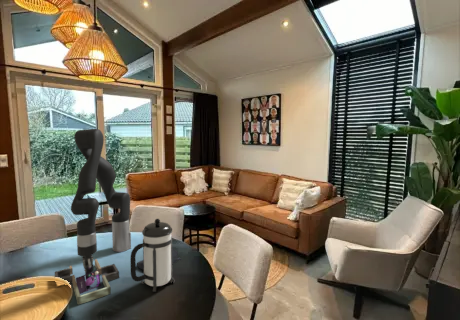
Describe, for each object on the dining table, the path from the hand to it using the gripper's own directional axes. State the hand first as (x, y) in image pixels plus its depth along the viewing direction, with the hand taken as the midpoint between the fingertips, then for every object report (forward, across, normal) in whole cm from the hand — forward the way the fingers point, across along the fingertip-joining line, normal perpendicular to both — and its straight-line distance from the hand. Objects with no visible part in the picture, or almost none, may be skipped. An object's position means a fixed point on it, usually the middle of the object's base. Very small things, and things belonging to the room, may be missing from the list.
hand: (88, 279), depth 116 cm
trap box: (+2, 0, 0) cm, 2 cm away
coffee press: (+2, -19, -24) cm, 31 cm away
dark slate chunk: (+2, 0, -33) cm, 33 cm away
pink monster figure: (+2, -4, +1) cm, 4 cm away
